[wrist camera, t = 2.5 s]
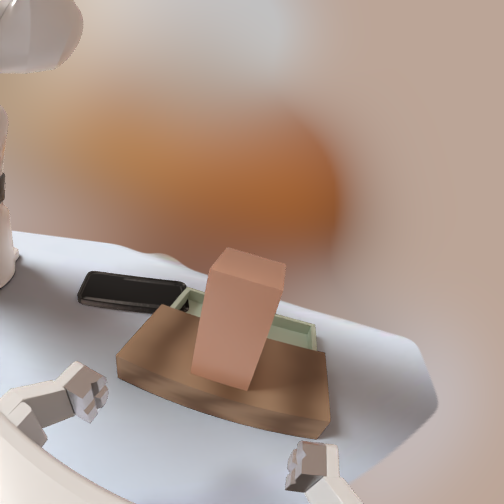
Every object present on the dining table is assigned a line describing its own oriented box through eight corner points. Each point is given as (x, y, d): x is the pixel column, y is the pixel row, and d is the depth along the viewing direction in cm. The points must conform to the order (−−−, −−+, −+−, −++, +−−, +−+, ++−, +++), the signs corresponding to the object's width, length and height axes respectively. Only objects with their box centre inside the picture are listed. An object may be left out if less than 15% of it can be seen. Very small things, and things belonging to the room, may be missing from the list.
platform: (117, 377, 22) (116, 355, 21) (160, 324, 31) (162, 304, 30) (316, 439, 20) (330, 421, 19) (315, 371, 30) (324, 352, 29)
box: (164, 324, 31) (166, 311, 31) (185, 299, 38) (187, 286, 37) (311, 369, 30) (317, 356, 29) (310, 336, 37) (315, 324, 36)
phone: (190, 312, 34) (75, 298, 29) (188, 319, 34) (76, 305, 29) (185, 281, 41) (89, 269, 36) (184, 288, 41) (89, 276, 36)
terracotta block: (190, 373, 22) (209, 268, 18) (206, 340, 26) (227, 247, 23) (247, 391, 21) (283, 290, 18) (255, 355, 26) (286, 264, 23)
